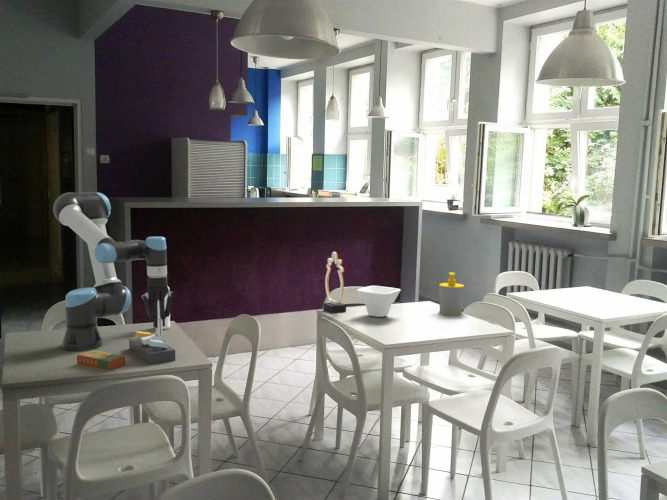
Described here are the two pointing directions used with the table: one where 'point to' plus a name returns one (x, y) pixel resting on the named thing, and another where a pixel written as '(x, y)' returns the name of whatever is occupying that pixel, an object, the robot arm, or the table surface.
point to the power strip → (151, 352)
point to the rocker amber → (143, 334)
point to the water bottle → (167, 320)
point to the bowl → (378, 299)
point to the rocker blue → (157, 343)
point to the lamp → (336, 305)
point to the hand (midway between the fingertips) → (159, 335)
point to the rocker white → (153, 337)
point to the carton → (101, 360)
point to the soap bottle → (451, 296)
